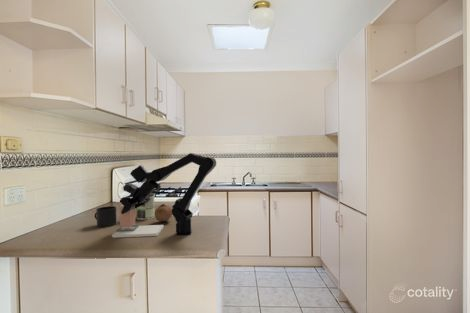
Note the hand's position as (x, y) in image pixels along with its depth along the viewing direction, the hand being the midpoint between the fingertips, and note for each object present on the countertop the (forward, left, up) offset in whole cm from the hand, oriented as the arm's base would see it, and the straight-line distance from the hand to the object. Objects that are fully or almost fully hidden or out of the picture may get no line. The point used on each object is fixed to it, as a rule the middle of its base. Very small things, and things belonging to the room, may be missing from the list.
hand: (125, 212), depth 125 cm
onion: (-15, -15, -10) cm, 23 cm away
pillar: (-1, 0, -7) cm, 7 cm away
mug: (+16, -14, -10) cm, 23 cm away
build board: (-7, +2, -9) cm, 12 cm away
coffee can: (-2, -27, -10) cm, 28 cm away
